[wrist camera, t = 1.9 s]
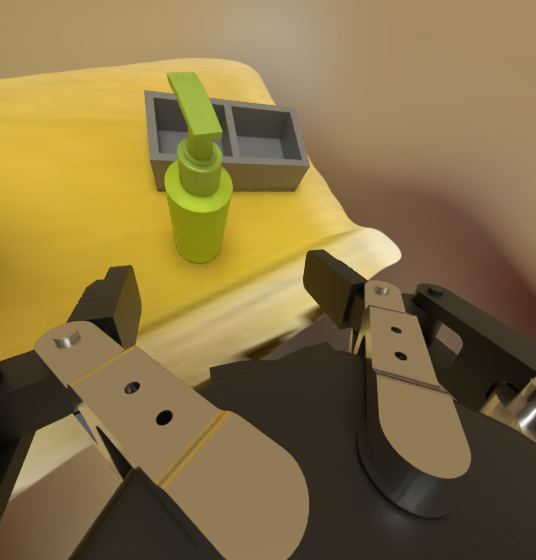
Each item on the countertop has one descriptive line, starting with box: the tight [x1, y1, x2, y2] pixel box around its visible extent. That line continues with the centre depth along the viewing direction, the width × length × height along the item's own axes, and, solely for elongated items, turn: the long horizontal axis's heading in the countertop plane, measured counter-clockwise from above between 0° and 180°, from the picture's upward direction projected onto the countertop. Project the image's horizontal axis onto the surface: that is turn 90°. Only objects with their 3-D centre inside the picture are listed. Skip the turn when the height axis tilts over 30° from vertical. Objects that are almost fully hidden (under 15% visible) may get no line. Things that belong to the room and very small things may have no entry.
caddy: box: [144, 90, 310, 191], centre depth 36 cm, size 21×10×6 cm, turn 101°
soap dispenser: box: [164, 72, 233, 263], centre depth 25 cm, size 6×7×20 cm
